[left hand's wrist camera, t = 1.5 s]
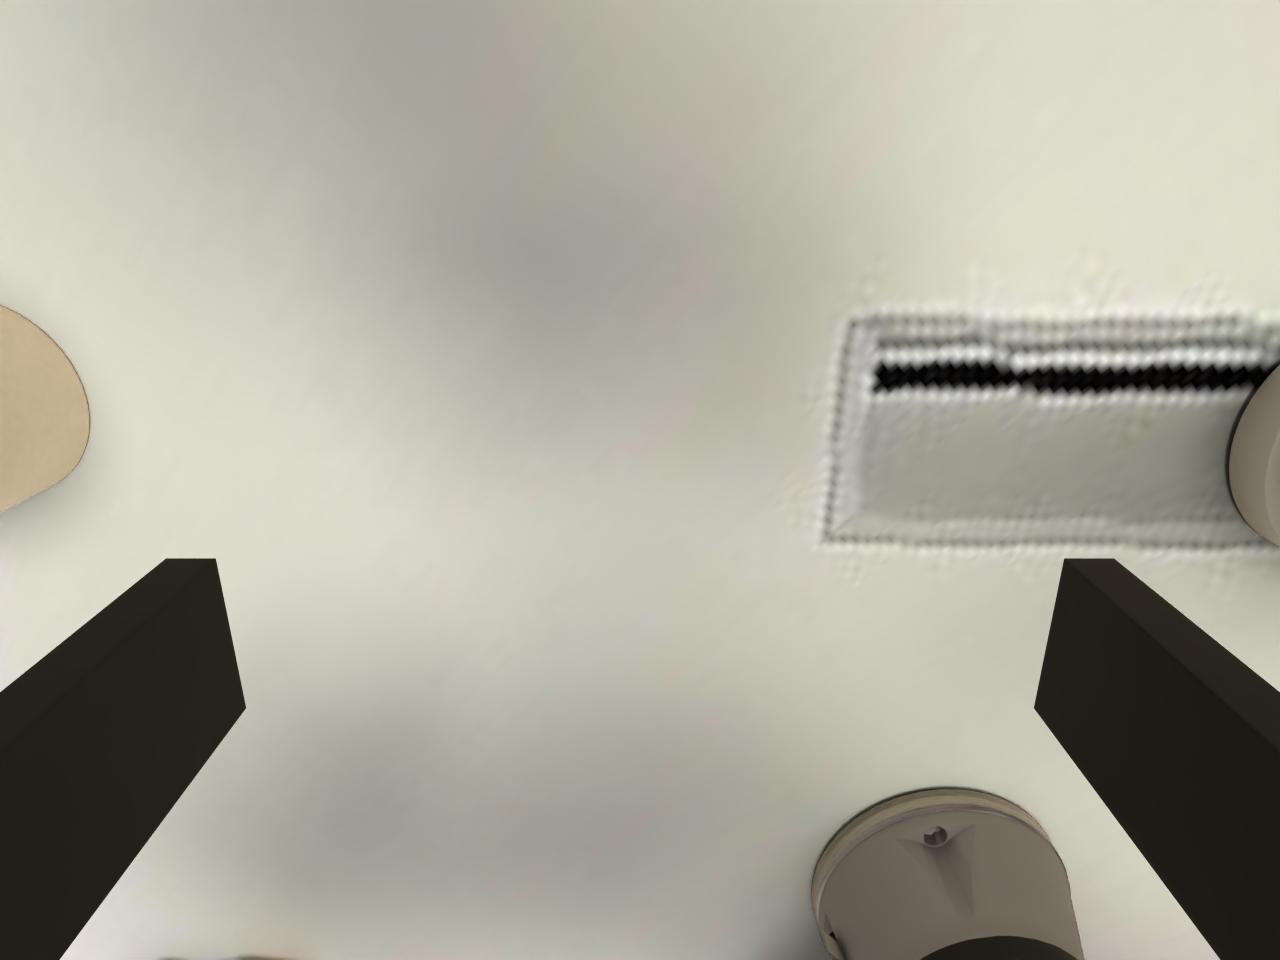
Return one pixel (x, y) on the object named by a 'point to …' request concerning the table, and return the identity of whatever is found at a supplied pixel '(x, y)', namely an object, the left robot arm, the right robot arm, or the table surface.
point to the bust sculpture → (1259, 461)
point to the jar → (36, 411)
